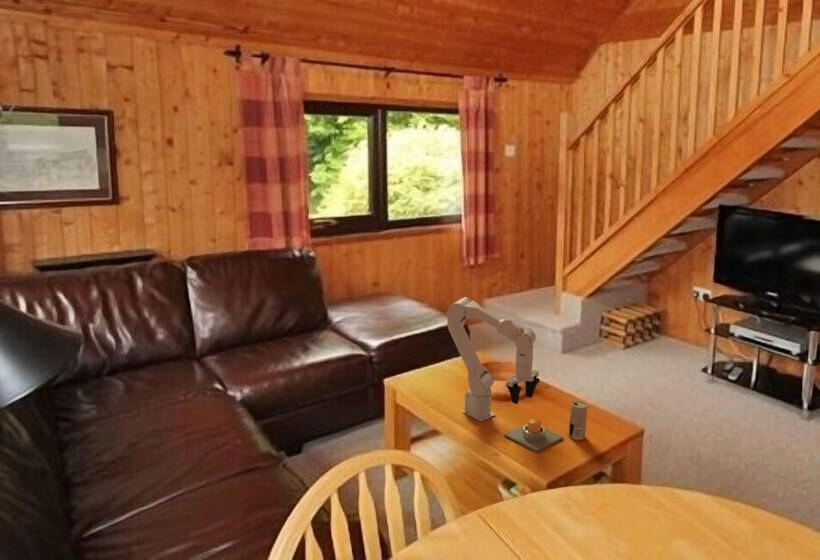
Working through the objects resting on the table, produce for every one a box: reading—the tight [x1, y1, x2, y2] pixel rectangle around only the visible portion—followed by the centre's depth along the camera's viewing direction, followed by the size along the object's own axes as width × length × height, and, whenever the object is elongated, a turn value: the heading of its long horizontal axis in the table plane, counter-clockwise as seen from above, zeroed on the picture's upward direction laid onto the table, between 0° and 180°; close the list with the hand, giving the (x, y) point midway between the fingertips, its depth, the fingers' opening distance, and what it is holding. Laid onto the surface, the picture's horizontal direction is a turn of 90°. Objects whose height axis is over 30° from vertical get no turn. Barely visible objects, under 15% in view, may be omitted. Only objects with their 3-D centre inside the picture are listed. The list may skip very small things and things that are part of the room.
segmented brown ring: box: [522, 423, 546, 441], centre depth 202 cm, size 7×7×2 cm
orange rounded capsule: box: [527, 418, 542, 433], centre depth 201 cm, size 4×4×5 cm
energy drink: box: [568, 401, 588, 441], centre depth 201 cm, size 5×5×12 cm
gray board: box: [503, 422, 564, 453], centre depth 202 cm, size 14×14×1 cm
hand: (522, 399), depth 209 cm, fingers open, 7 cm apart
